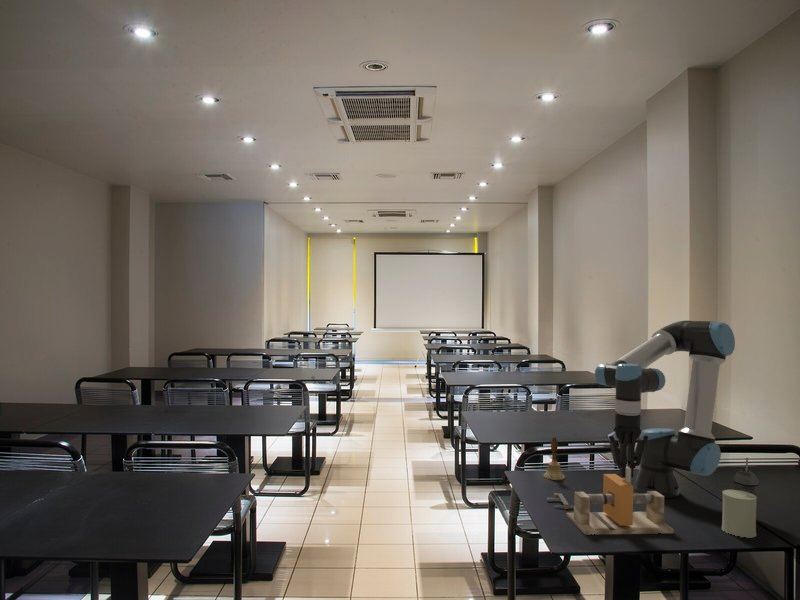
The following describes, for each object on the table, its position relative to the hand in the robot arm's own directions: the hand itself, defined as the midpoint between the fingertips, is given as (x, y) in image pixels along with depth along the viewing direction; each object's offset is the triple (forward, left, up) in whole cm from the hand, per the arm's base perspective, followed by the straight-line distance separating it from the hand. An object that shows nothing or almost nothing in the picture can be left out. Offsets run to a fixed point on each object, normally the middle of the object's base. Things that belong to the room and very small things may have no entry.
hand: (626, 487), depth 179 cm
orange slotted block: (+3, 0, -10) cm, 10 cm away
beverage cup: (-43, -4, -12) cm, 44 cm away
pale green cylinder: (-33, +7, -12) cm, 35 cm away
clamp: (+14, -17, -12) cm, 25 cm away
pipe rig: (+2, 0, -12) cm, 12 cm away
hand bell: (+6, -48, -12) cm, 50 cm away
